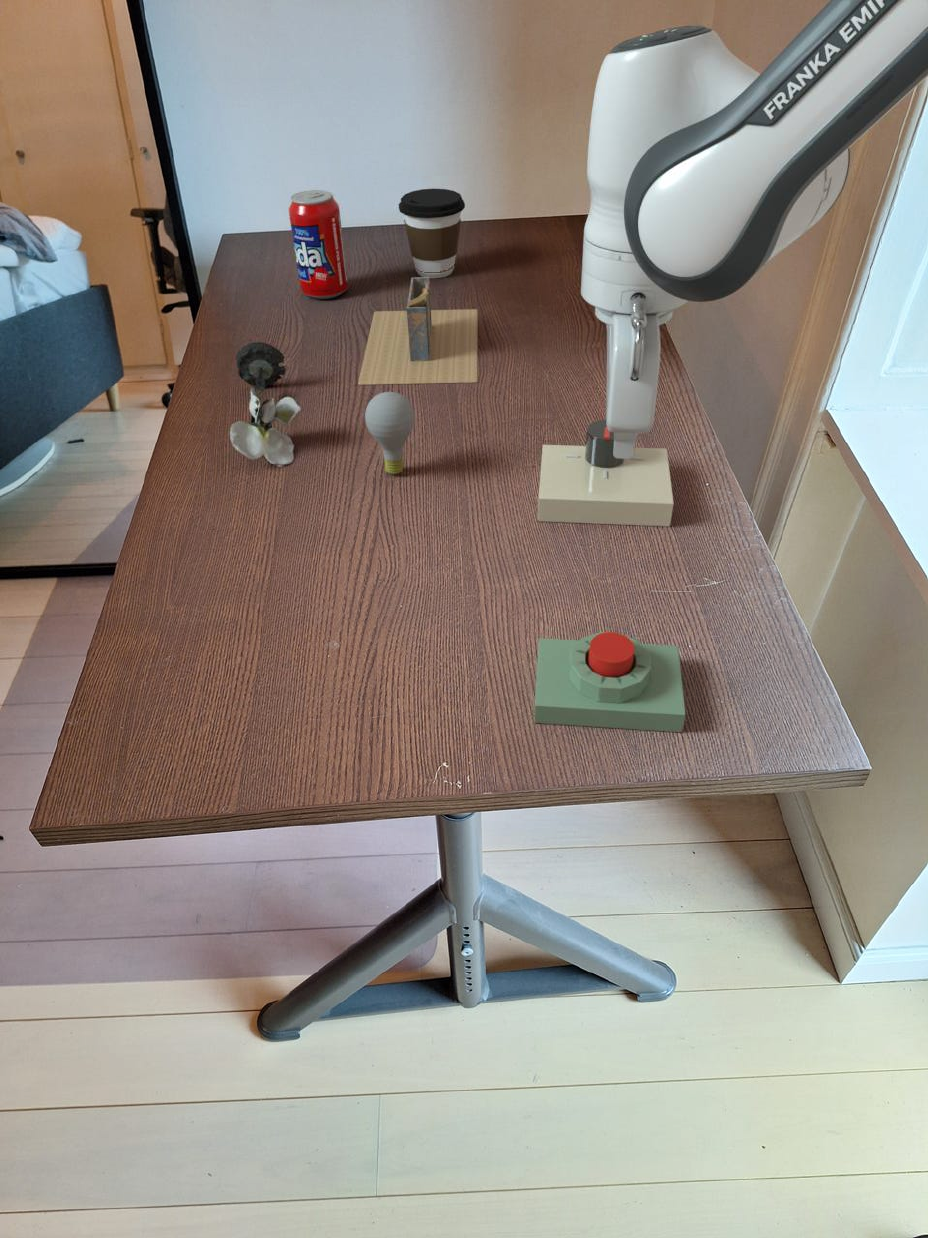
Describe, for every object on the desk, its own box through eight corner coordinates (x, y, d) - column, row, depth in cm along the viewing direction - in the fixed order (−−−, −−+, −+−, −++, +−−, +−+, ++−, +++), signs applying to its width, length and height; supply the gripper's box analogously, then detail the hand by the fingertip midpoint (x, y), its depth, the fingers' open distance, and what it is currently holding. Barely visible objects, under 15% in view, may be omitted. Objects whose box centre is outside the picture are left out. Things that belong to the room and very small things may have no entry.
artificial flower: (300, 389, 118) (309, 324, 111) (290, 494, 104) (299, 428, 96) (234, 377, 116) (239, 310, 109) (214, 483, 101) (218, 414, 94)
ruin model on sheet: (477, 382, 116) (476, 311, 109) (357, 384, 116) (349, 314, 110) (477, 309, 134) (476, 245, 128) (374, 311, 135) (368, 247, 128)
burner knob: (585, 446, 97) (588, 415, 94) (625, 448, 96) (628, 418, 94) (583, 466, 94) (586, 436, 91) (624, 469, 93) (627, 438, 90)
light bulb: (423, 481, 98) (417, 401, 91) (377, 489, 97) (368, 409, 90) (412, 457, 102) (406, 379, 95) (367, 465, 101) (358, 387, 94)
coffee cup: (431, 288, 141) (427, 211, 133) (390, 271, 147) (384, 197, 139) (479, 271, 146) (478, 196, 138) (438, 255, 152) (435, 183, 144)
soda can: (358, 291, 141) (347, 194, 131) (321, 305, 137) (306, 206, 127) (329, 280, 145) (317, 184, 135) (292, 293, 141) (276, 196, 131)
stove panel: (662, 462, 99) (666, 438, 97) (670, 527, 90) (674, 502, 88) (542, 458, 101) (543, 434, 99) (537, 521, 91) (538, 496, 89)
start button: (631, 648, 71) (633, 633, 70) (633, 679, 69) (635, 664, 67) (588, 646, 72) (589, 630, 70) (588, 676, 69) (589, 661, 68)
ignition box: (674, 663, 75) (681, 630, 72) (681, 732, 69) (689, 699, 66) (538, 655, 76) (539, 622, 73) (534, 723, 70) (535, 690, 68)
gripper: (686, 326, 60) (663, 492, 69) (670, 231, 75) (653, 377, 84) (595, 325, 61) (585, 489, 70) (598, 231, 76) (589, 376, 85)
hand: (622, 427), depth 77 cm, fingers open, 8 cm apart
